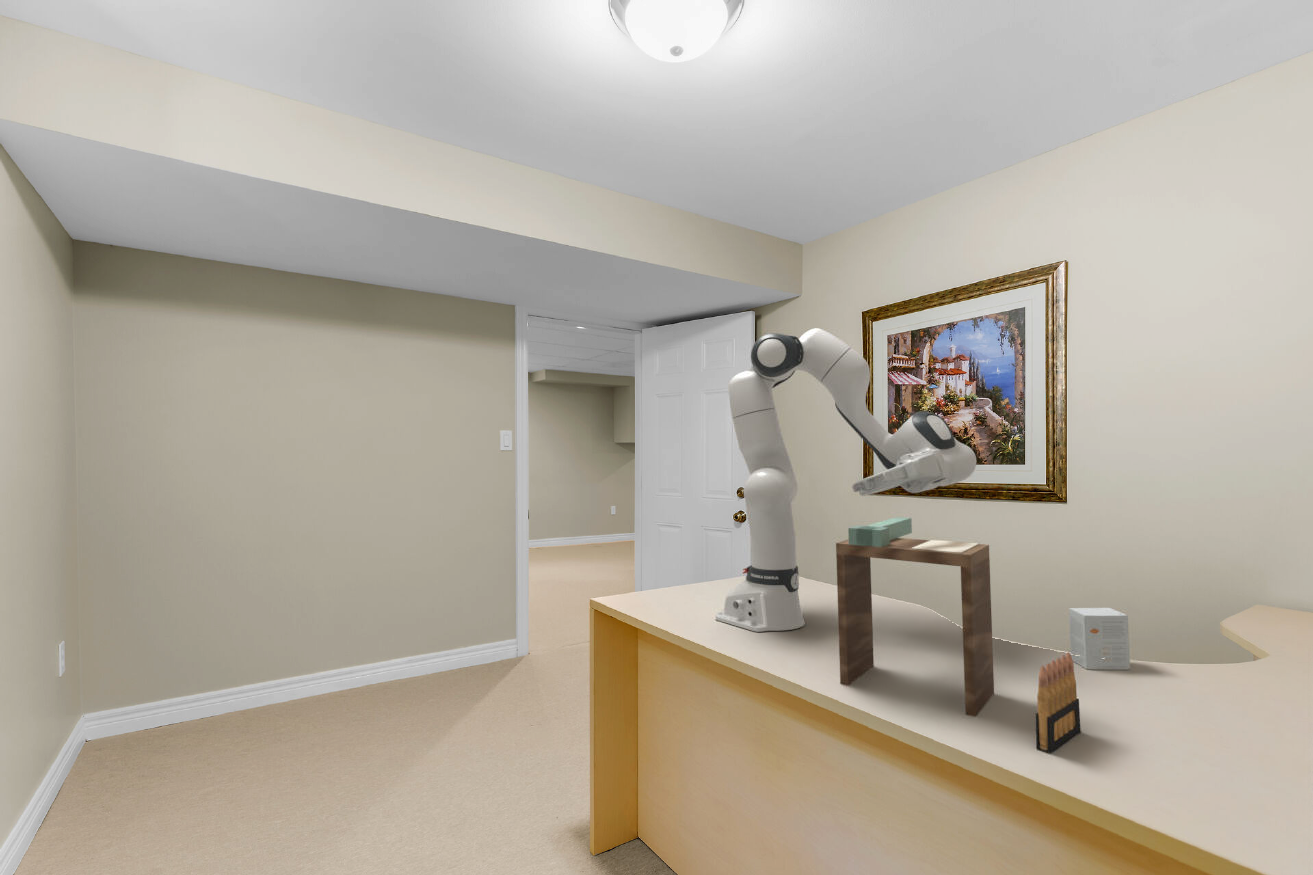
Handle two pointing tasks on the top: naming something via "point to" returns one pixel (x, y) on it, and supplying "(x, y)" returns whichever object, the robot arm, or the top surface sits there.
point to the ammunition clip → (1057, 705)
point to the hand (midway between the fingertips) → (868, 482)
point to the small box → (1099, 638)
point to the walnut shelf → (974, 607)
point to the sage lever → (880, 532)
